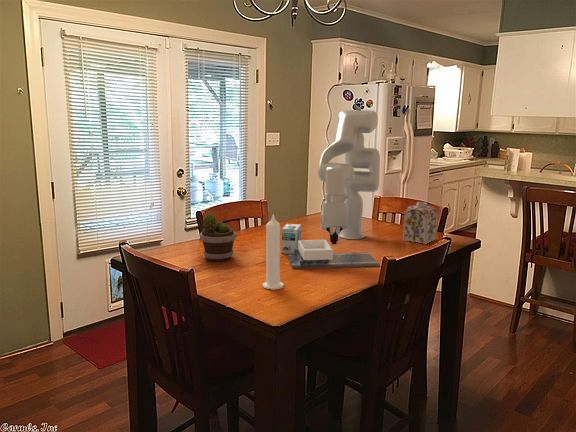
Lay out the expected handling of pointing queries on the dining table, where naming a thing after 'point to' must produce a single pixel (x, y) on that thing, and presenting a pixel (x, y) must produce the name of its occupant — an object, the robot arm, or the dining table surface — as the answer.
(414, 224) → the decorative jar
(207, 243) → the flowerpot
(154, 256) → the dining table surface
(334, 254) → the track
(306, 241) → the cart
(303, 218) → the dining table surface
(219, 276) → the dining table surface
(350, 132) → the robot arm
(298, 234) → the light bulb box
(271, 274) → the candle
